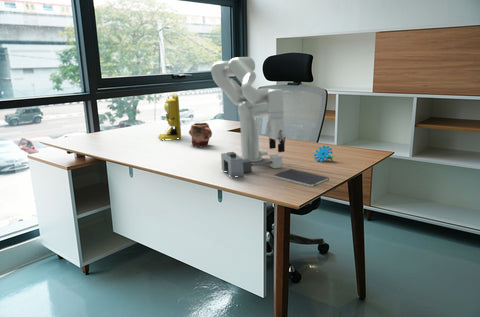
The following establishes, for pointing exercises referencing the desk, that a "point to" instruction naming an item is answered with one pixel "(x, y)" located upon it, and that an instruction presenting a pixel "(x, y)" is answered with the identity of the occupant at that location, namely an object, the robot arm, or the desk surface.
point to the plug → (274, 163)
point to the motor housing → (232, 164)
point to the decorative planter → (200, 134)
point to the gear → (323, 154)
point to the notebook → (301, 177)
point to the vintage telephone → (172, 118)
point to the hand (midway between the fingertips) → (276, 150)
